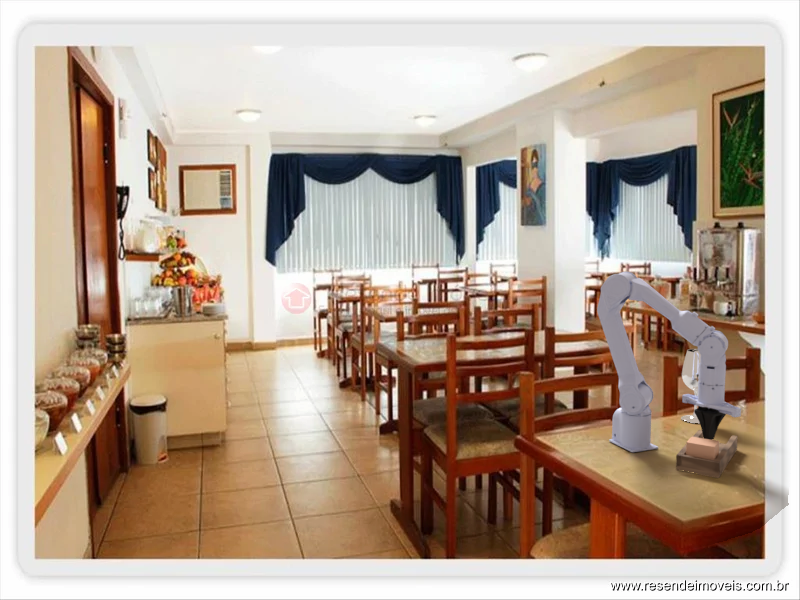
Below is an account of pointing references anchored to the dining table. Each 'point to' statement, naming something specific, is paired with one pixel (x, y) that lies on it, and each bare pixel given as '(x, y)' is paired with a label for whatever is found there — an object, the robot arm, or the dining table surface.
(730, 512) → the dining table surface
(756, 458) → the dining table surface
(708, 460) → the shallow wooden tray
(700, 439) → the block
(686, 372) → the wineglass
